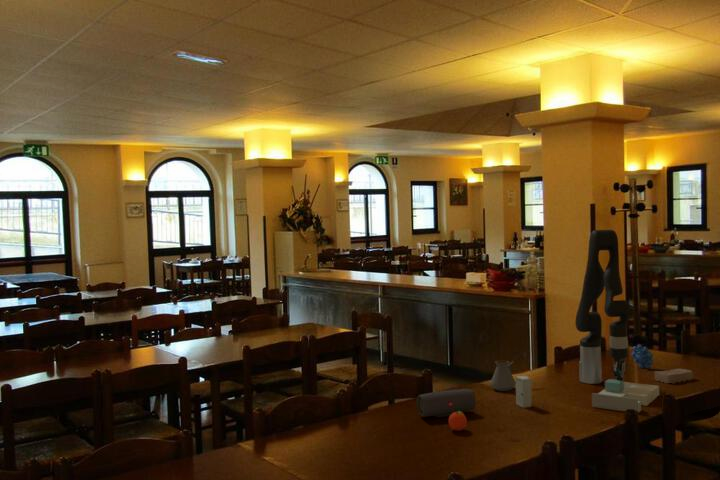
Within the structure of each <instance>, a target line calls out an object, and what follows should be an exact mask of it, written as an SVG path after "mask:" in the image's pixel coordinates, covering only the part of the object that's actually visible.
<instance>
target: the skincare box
mask: <svg viewBox="0 0 720 480" xmlns="http://www.w3.org/2000/svg"><path fill="white" fill-rule="evenodd" d="M515 382H516V384H515V404H516V405H517V406H518V407H521V408H525V409H526V408H531V407H532V378H531V377H529V376H527V375H518V376H515Z"/></svg>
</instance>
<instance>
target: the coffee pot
mask: <svg viewBox="0 0 720 480" xmlns="http://www.w3.org/2000/svg"><path fill="white" fill-rule="evenodd" d="M522 356H523V357H525V356H527V354H526V353H525V352H524V351H523V352H521V353H520V354H519V355H518V356H516V357H515V358H514V359H512V361H511V362H510V361H509V360H505V359H502V360H496V361H495V362H494V363H495V364H496V367H495V371H494V373H493V376H492V378H491V380H490V385H491V387H492V388H493V389H494V390H495V391H498V392H509V391H512V390H513V388H514V387H516V379H515V378H514V377H513V373H512V372H511V370H510V368H509V367H511V365H513V364H514V363H515V362H517V361H518V360H519V359H520V358H521V357H522Z"/></svg>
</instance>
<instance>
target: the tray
mask: <svg viewBox="0 0 720 480" xmlns="http://www.w3.org/2000/svg"><path fill="white" fill-rule="evenodd" d="M657 396H658V397H659V396H660V386H659V385H654V384H647V383H646V384H645V383H637V382H629V381H628V382H627V381H624V390H623V391H622V392H620V393H615V392H607V391H605V388H604V389H602V390H601V391H600V392H597V393H596V392H595V393H594V392H591V407H592V408H599V409H604V410H605V409H606V410H612V411H619V412H625V411H626V410H627V409H634V410H636V411H637V412H638V413H637V414H639V413H640V412H641V411H642V406H644V407H645V406H646V407H647V406H648V405H650V404H651V403H652V402H653V401H654V400H655V399H656V398H658V397H657Z"/></svg>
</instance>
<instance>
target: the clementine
mask: <svg viewBox="0 0 720 480" xmlns="http://www.w3.org/2000/svg"><path fill="white" fill-rule="evenodd" d="M467 423H468V420H467V417H466V415H465V413H464V411H463V412H460V411H458V412H454V413H452V414H451V415H450V416H448V425H449V427H450V428H451V429H452V430H453V431H457V432H458V431H459V432H460V431H463V430H464V429H465V428H466V427H467Z"/></svg>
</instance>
